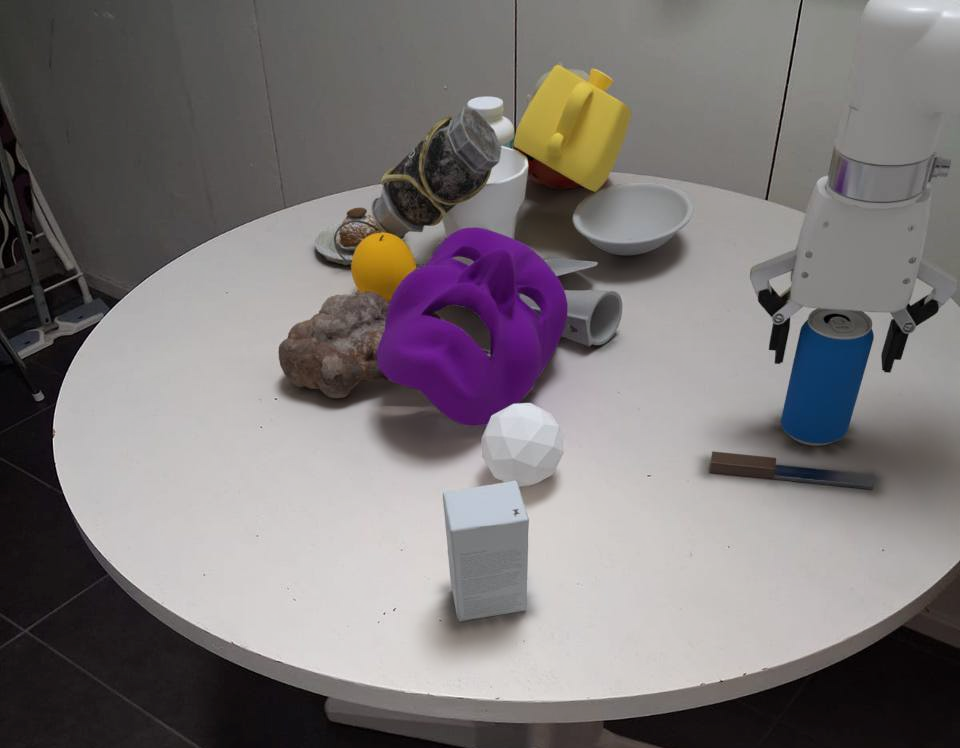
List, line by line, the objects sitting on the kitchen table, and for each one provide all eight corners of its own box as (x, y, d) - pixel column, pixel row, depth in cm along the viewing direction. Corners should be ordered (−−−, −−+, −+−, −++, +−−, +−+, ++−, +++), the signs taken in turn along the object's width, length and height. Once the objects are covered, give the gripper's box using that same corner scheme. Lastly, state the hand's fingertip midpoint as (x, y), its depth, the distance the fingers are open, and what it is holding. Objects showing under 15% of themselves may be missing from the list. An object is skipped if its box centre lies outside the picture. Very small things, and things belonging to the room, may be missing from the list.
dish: (656, 292, 114) (659, 252, 111) (549, 269, 120) (549, 230, 116) (708, 231, 124) (713, 192, 121) (608, 212, 129) (609, 174, 126)
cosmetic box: (516, 572, 82) (519, 478, 72) (527, 612, 80) (531, 520, 70) (448, 583, 82) (441, 489, 72) (456, 623, 80) (450, 532, 70)
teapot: (529, 151, 130) (571, 62, 125) (607, 196, 130) (652, 109, 125) (499, 138, 113) (547, 33, 107) (589, 191, 113) (641, 88, 107)
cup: (444, 229, 129) (437, 143, 120) (535, 231, 127) (534, 144, 119) (426, 274, 120) (417, 185, 112) (523, 276, 119) (521, 186, 110)
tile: (603, 261, 114) (603, 265, 114) (550, 257, 122) (550, 261, 122) (464, 297, 105) (465, 301, 106) (417, 290, 114) (418, 294, 114)
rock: (429, 363, 113) (422, 275, 108) (458, 388, 104) (453, 292, 98) (277, 383, 109) (263, 292, 104) (293, 411, 99) (278, 313, 94)
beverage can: (835, 409, 97) (864, 300, 88) (855, 447, 92) (887, 336, 84) (771, 414, 97) (794, 305, 88) (789, 452, 93) (814, 342, 84)
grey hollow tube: (503, 292, 119) (625, 326, 109) (469, 318, 117) (590, 356, 106) (494, 249, 115) (620, 280, 104) (458, 275, 113) (583, 310, 102)
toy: (521, 85, 138) (518, 197, 142) (502, 52, 124) (499, 177, 128) (625, 81, 135) (618, 196, 139) (617, 47, 121) (610, 175, 125)
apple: (355, 282, 120) (345, 223, 114) (417, 276, 120) (410, 217, 115) (356, 314, 115) (346, 254, 109) (420, 308, 115) (414, 247, 109)
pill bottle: (498, 223, 129) (494, 116, 119) (452, 213, 132) (445, 108, 122) (525, 201, 133) (523, 96, 123) (480, 192, 136) (475, 89, 126)
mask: (476, 473, 96) (576, 324, 107) (525, 382, 82) (633, 224, 94) (335, 382, 95) (451, 242, 106) (361, 276, 82) (490, 129, 93)
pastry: (401, 266, 122) (397, 230, 119) (309, 269, 123) (303, 234, 119) (408, 224, 130) (404, 190, 127) (322, 228, 131) (316, 194, 127)
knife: (872, 477, 89) (875, 467, 88) (872, 489, 88) (876, 479, 87) (710, 461, 92) (712, 451, 91) (709, 472, 91) (710, 462, 90)
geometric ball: (578, 405, 85) (562, 492, 86) (560, 416, 93) (545, 496, 94) (497, 387, 84) (480, 476, 85) (485, 400, 92) (470, 482, 93)
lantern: (458, 85, 105) (323, 217, 121) (449, 126, 101) (310, 257, 117) (511, 143, 110) (374, 263, 126) (504, 184, 106) (364, 302, 122)
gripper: (988, 156, 77) (926, 346, 89) (769, 149, 80) (739, 332, 93) (999, 196, 72) (932, 390, 85) (765, 186, 75) (734, 374, 88)
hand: (831, 360), depth 89 cm, fingers open, 9 cm apart
